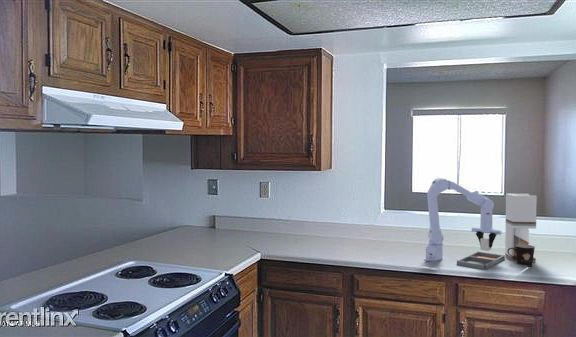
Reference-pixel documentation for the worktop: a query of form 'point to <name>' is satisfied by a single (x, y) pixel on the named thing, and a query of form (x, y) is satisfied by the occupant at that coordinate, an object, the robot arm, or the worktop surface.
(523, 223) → the coffee maker
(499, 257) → the tray
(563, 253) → the worktop surface
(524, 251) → the coffee mug
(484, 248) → the white rectangular block
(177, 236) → the worktop surface
